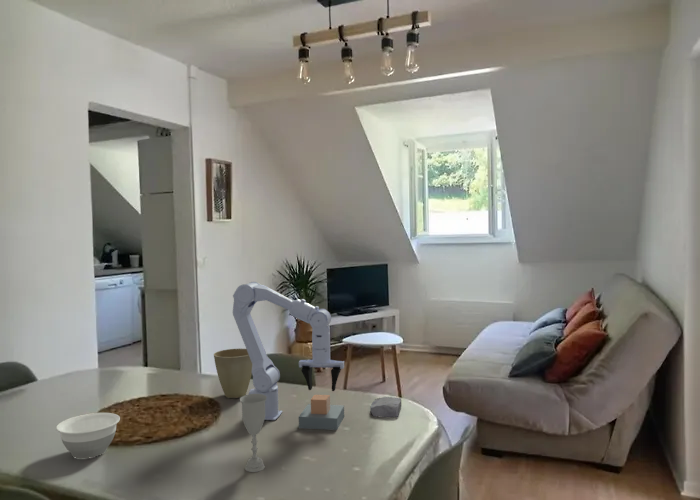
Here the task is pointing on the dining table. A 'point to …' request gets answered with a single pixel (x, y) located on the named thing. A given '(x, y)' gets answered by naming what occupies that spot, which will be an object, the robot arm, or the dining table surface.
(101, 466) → the dining table surface
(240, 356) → the plant pot
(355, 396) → the dining table surface
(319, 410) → the terracotta block
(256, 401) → the chalice
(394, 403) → the stone block
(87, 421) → the bowl
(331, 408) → the slate box
